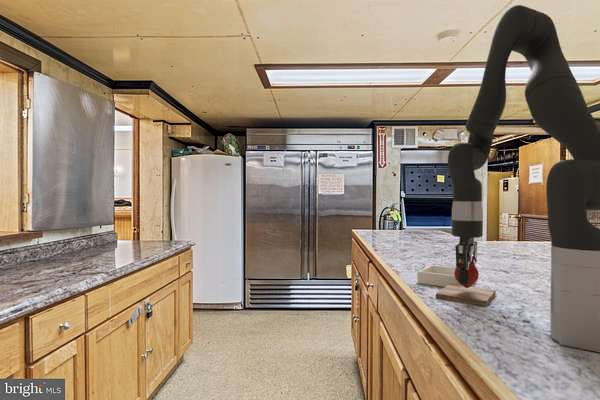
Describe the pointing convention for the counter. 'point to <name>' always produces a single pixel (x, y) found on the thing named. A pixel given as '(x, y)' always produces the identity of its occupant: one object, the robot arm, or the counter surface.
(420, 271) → the shallow wooden tray
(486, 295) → the board
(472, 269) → the onion
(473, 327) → the counter surface
